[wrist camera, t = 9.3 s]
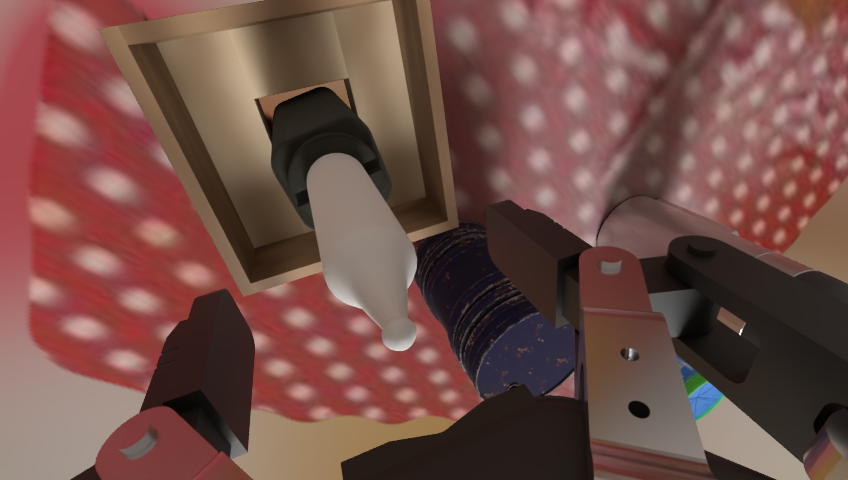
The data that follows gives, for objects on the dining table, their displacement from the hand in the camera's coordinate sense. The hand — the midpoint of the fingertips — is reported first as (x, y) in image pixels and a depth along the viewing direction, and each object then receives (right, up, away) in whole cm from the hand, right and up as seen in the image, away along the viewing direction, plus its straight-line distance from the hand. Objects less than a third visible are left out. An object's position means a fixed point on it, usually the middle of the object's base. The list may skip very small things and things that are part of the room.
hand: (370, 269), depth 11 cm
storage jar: (+5, -1, +29) cm, 29 cm away
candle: (-7, +10, +18) cm, 22 cm away
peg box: (-7, +10, +18) cm, 22 cm away
